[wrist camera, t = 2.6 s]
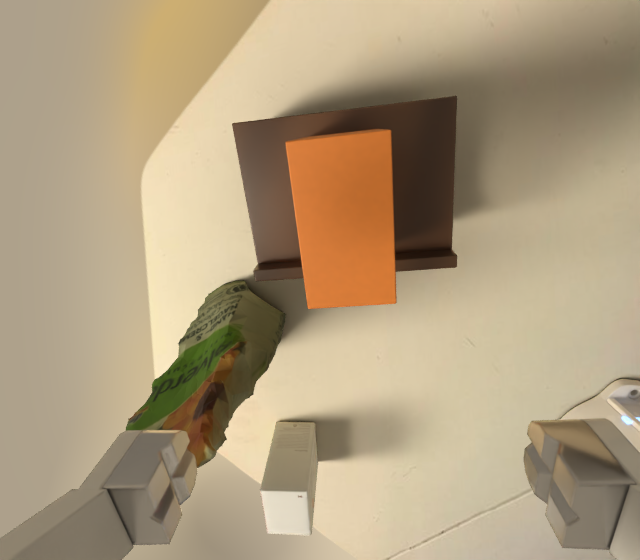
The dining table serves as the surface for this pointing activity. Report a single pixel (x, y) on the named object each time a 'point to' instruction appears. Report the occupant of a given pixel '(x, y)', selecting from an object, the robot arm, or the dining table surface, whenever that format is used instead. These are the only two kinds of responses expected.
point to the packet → (345, 217)
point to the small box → (290, 479)
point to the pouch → (214, 369)
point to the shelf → (408, 181)
